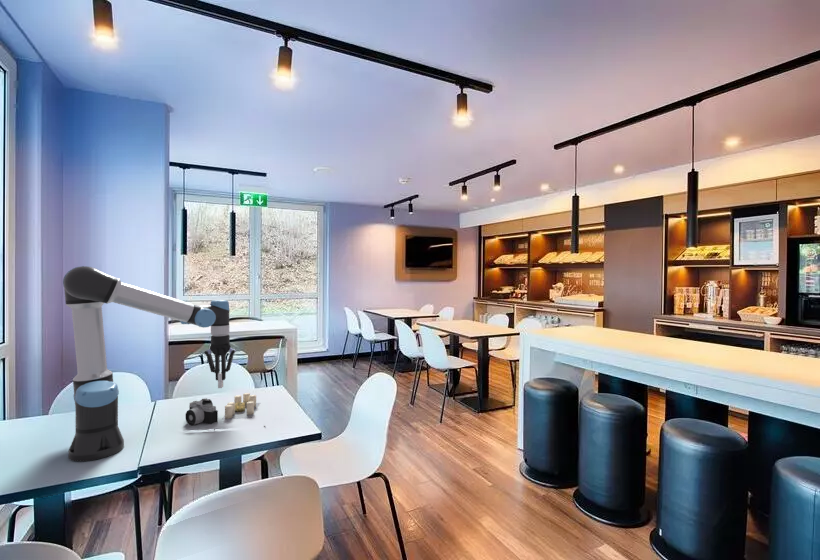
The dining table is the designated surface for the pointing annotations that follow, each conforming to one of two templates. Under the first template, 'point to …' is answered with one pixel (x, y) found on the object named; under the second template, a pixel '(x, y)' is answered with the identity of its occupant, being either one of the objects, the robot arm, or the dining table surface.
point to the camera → (201, 412)
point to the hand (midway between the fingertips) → (220, 387)
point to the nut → (240, 407)
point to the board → (249, 407)
